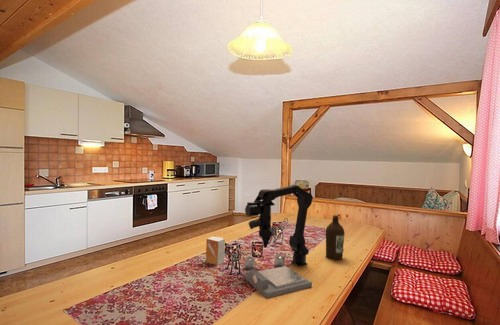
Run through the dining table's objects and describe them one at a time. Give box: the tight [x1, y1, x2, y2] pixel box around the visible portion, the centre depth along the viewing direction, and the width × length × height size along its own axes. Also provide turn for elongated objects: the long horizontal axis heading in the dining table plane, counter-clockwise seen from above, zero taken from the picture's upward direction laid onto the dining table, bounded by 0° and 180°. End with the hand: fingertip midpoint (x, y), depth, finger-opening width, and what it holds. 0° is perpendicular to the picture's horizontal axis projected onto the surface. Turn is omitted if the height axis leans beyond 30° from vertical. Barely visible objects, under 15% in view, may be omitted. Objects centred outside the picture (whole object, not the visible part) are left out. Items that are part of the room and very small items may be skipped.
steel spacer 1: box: [244, 256, 256, 271], centre depth 141 cm, size 5×5×5 cm
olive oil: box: [325, 214, 346, 261], centre depth 160 cm, size 11×11×25 cm
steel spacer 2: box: [274, 254, 285, 268], centre depth 145 cm, size 5×5×5 cm
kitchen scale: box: [244, 265, 313, 299], centre depth 125 cm, size 24×20×6 cm
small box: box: [205, 235, 226, 266], centre depth 147 cm, size 8×6×13 cm
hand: (265, 244), depth 139 cm, fingers open, 9 cm apart
